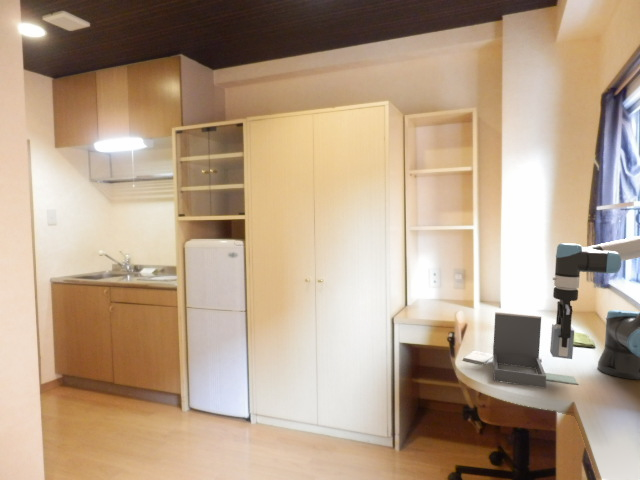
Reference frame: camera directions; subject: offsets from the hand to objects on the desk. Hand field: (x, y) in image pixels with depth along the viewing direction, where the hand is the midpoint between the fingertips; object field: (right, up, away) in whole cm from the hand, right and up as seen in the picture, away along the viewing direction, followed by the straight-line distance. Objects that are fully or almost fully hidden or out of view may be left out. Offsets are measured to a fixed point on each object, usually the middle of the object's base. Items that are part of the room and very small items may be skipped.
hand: (561, 352), depth 158 cm
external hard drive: (-22, -8, +21) cm, 31 cm away
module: (0, -1, 0) cm, 1 cm away
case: (-14, -9, +4) cm, 17 cm away
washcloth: (+32, -7, +47) cm, 57 cm away
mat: (0, -9, +1) cm, 9 cm away
